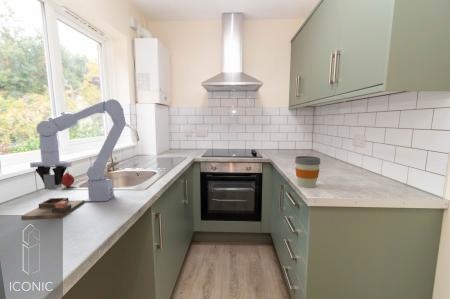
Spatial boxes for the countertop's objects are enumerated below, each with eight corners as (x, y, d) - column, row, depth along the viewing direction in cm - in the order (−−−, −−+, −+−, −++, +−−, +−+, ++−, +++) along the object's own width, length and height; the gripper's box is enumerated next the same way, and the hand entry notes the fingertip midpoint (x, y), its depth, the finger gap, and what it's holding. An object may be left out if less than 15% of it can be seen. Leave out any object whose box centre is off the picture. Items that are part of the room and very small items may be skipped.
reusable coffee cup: (289, 183, 124) (290, 156, 122) (306, 181, 129) (307, 155, 128) (306, 190, 113) (307, 160, 111) (324, 187, 118) (326, 158, 116)
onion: (59, 189, 114) (57, 173, 113) (64, 186, 120) (62, 171, 119) (72, 188, 116) (71, 172, 115) (76, 185, 121) (75, 170, 120)
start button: (67, 205, 85) (67, 201, 85) (63, 208, 83) (62, 203, 82) (60, 206, 85) (59, 201, 85) (55, 208, 82) (55, 203, 82)
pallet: (84, 202, 95) (84, 196, 95) (62, 217, 80) (61, 210, 80) (50, 203, 94) (50, 197, 94) (21, 218, 79) (20, 211, 79)
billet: (61, 186, 94) (60, 172, 94) (55, 189, 90) (54, 174, 90) (51, 186, 94) (50, 172, 93) (44, 189, 90) (43, 174, 89)
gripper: (74, 149, 95) (77, 181, 96) (38, 150, 94) (41, 182, 95) (64, 152, 88) (67, 186, 90) (24, 152, 87) (28, 187, 88)
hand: (53, 184), depth 92 cm, fingers closed on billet, 4 cm apart
